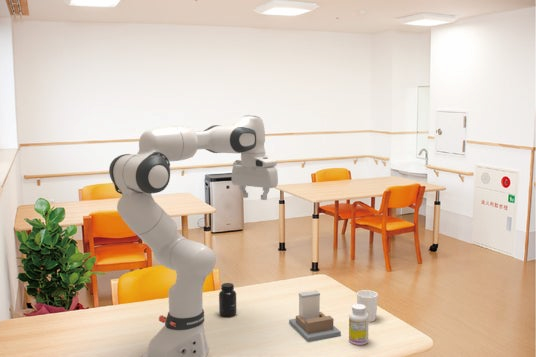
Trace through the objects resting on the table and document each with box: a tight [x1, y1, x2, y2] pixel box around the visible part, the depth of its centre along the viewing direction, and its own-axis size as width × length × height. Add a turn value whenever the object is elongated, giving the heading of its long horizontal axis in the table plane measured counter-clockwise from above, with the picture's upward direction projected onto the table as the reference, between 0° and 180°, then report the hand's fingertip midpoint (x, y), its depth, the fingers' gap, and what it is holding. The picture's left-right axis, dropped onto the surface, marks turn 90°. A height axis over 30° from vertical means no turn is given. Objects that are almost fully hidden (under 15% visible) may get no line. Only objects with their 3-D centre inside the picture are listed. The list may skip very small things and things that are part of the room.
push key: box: [298, 290, 321, 321], centre depth 200 cm, size 3×7×11 cm, turn 111°
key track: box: [288, 311, 342, 343], centre depth 196 cm, size 16×13×6 cm
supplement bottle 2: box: [348, 303, 369, 346], centre depth 186 cm, size 7×7×13 cm
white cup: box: [356, 289, 379, 323], centre depth 205 cm, size 8×8×10 cm
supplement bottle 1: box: [218, 282, 237, 318], centre depth 211 cm, size 7×7×12 cm
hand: (254, 198), depth 195 cm, fingers open, 8 cm apart
